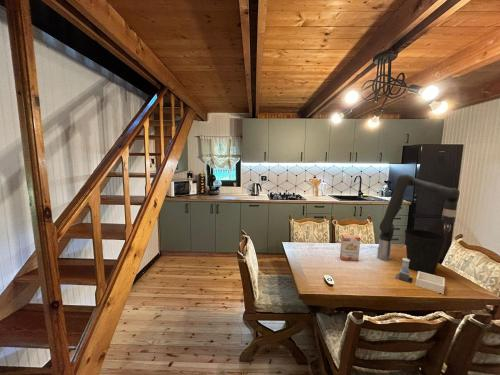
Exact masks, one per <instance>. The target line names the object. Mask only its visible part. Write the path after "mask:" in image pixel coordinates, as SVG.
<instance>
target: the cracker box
mask: <svg viewBox="0 0 500 375" xmlns="http://www.w3.org/2000/svg"><path fill="white" fill-rule="evenodd" d="M340 241H341V243H340V252H339V253H340V254H339V259H340V260H341V261H351V262H359V258H360V248H361V237H360V236H359V235H354V234H353V235H351V234H342V235H341V240H340Z"/></svg>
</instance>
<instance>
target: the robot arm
mask: <svg viewBox="0 0 500 375" xmlns="http://www.w3.org/2000/svg"><path fill="white" fill-rule="evenodd" d="M408 186H409V187H414V188H418V189H422V190H423V191H426V192H429V193H433V194H437V195H440V196H442V197H445V202H444V205H443V206H444V207H443V211H442V215H441V221H442V222H443V236H444V238H447V239H448V238H449V234H450V232H451V228H452V224H454V223H455V222H456V216H457V207H458V202H459V197H460V190H459V189H458V188H456V187H447V186H444V185H442V184H438V183H436V182H431V181H426V180H422V179H419V178H416V177H413V176H411V175H409V174H401V175H399V176H398V177H397V178H396V182H395V185H394V189H393V192H392V194H391V197H390V198H389V201H388V204H387V206H386V209H385V214H384V217H383V218H382V219H381V220H382V221H381V222H380V223H379V230H380V234H379V239H378V240H379V241H378V247H377V254H376V258H377V259H379V260H383V261H390V258H391V251H392V250H391V249H392V248H391V247H392V242H393V241H392V240H393V236H394V230H395V226H394V222H393V221H394V220H395V218H396V216H397V215H398V213H399V211H401V208H402V205H403V202H404V193H405V191H406V189H407V187H408Z"/></svg>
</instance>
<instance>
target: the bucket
mask: <svg viewBox="0 0 500 375" xmlns="http://www.w3.org/2000/svg"><path fill="white" fill-rule="evenodd" d="M404 235H405V249H406V252H405V253H406V258H407V259H409V260H410V262H409V267H408V270H409V271H410V270H411V271H413V272H417V273H418V271H420V272H424V273H428V274H433V275H435V274H436V273H437V272H436V271H437V268H438V265H439V262H440V259H441V256H442V253H443V252H444V248H445V246H446V244H447V243H446V242H447V240H448V238H444V234H440V233H437V232H434V231H429V230H425V229H424V230H422V229H411V227H409V228H405V230H404Z"/></svg>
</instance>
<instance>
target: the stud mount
mask: <svg viewBox="0 0 500 375" xmlns="http://www.w3.org/2000/svg"><path fill="white" fill-rule="evenodd" d="M394 279H395V280H399V281H401V282H405V283H409V284H412V282H413V279H414V278H413V277H411V276H409V280H408V281H406V280H402V279H399V273H396V275H395V277H394Z"/></svg>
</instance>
